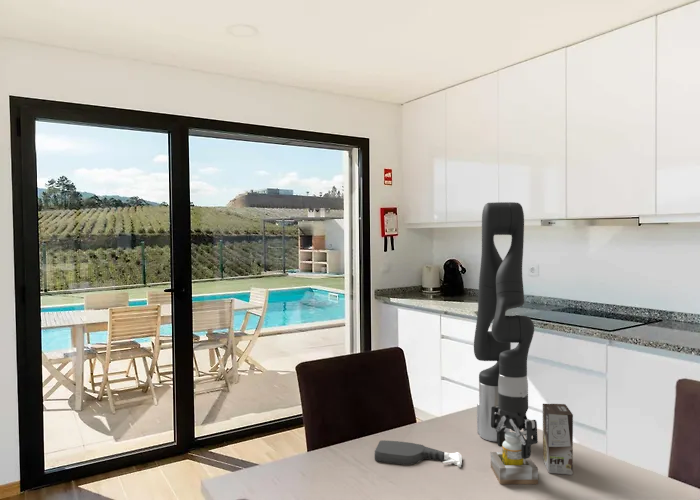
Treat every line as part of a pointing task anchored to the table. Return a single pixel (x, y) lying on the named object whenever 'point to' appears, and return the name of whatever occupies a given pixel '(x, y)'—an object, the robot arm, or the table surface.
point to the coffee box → (558, 438)
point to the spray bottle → (412, 453)
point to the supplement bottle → (512, 450)
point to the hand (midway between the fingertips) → (513, 451)
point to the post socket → (514, 471)
